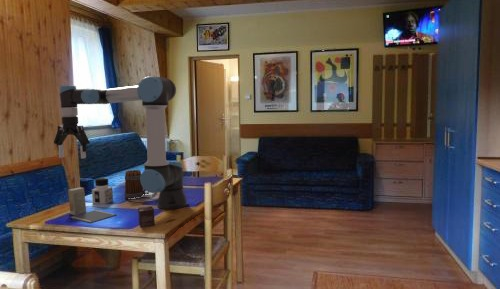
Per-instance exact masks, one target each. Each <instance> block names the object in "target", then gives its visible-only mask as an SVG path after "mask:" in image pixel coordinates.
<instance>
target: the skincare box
mask: <svg viewBox="0 0 500 289" xmlns="http://www.w3.org/2000/svg"><path fill="white" fill-rule="evenodd" d="M67 192H68V203H69V212H70V215H73V216H75V215H79V214H83V213H86V212H87V206H86V194H85V188H84V187H81V186H79V187H75V188H70V189H67Z"/></svg>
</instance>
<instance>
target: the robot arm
mask: <svg viewBox="0 0 500 289" xmlns="http://www.w3.org/2000/svg"><path fill="white" fill-rule="evenodd" d="M176 94H177V87H176V83H174V82H173V81H172V80H171V79H170V78H167V77H160V76H153V75H152V76H145V77H144V78H142V79H141V80H140V81H139V83H138V85H133V86H132V85H131V86H123V87H114V88H113V87H112V88H103V89H95V88H77V87H76V85H74V84H73V85H69V84H68V85H66V84H64V85H63V84H62V85H60V87H59V96H60V98H59V99H60V100H59V101H60V113H61V116H62V117H61V124H62V125H58V126H57V132H56V134H55V137H54V141H53V144H54V145H55V144H56V145H57V151H58V158H59V159H61V158H65V147H64V144H63V143H64V141H65V140H66V139H67V137H68V135H69V136H72V135H73V136H74V137H75V138H76V139H77V141H78V143H80V146H79V147H80V150H79V151H80V159H86V158H87V154H86V153H87V152H88V151H87V145H90V140H89V138H88V135H87V133H86V132H85V130H84V126H83V125H79V117H78V105H108V104H115V103H125V102H127V103H128V102H137V101H142V102H141V103H142V104H141V105H142V107H143V108H144V109H145V123H146V150H147V152H146V153H147V156H146V157H147V160H146V162H144V164H143V165H144V166H143V167H144V169H143V171H142V172H141V176H140V182H141V185H142V187H143V190H144V189H145V190H146V191H145V192H149V194H150V193H152V194H156V193H159V194H158V195H159V196H158V200H157V202H156V204H157V206H156V207H157V208H159V209H161V210H162V209H163V210H174V209H176V210H177V209H182V208H183V207H187V206H188V199H187V197H186V195H185V194H186V193H185V191H184V175H183V173H184V170H183V168H184V167H183V163H182V162H181V161H178V160H177V161H173V160H172V161H171V160H170V161H169V160H167V149H166V113H165V110H166V108H168V106H169V101H172V100H173V99H174V97H175V96H176Z"/></svg>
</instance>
